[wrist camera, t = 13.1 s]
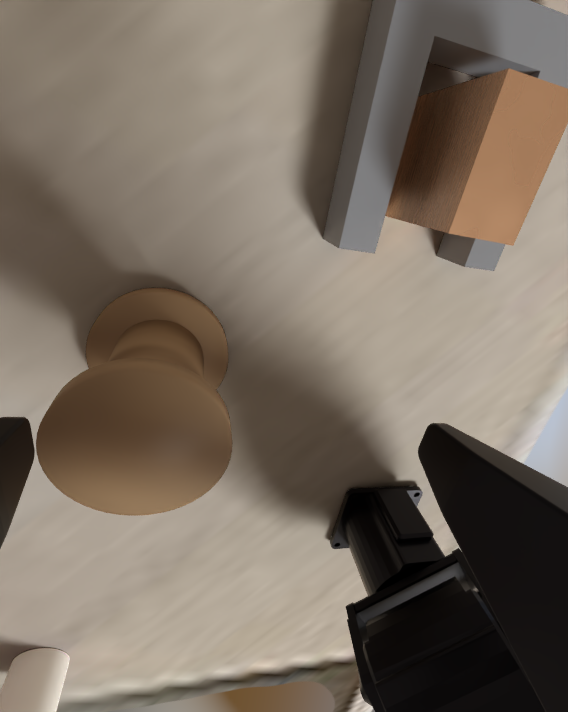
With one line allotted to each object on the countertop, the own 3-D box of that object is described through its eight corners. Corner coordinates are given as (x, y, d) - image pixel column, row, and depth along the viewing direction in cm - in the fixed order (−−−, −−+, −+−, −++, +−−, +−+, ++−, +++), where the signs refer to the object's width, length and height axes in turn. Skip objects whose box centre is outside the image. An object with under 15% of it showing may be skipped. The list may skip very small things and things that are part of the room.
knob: (221, 405, 22) (230, 516, 15) (95, 402, 20) (39, 525, 13) (233, 295, 19) (251, 370, 12) (86, 280, 17) (9, 357, 10)
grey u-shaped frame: (463, 260, 21) (493, 271, 19) (322, 238, 18) (338, 248, 16) (545, 45, 16) (598, 27, 14) (376, -16, 14) (407, -48, 12)
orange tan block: (429, 223, 19) (513, 245, 14) (379, 214, 19) (448, 233, 13) (466, 114, 17) (581, 93, 12) (411, 98, 16) (508, 68, 11)
